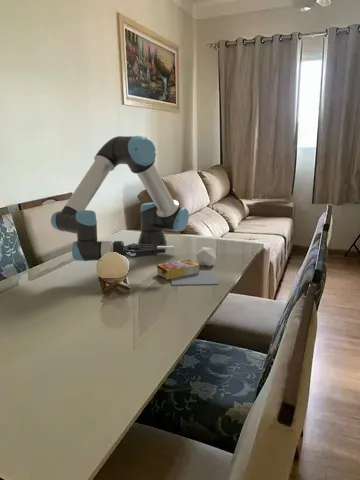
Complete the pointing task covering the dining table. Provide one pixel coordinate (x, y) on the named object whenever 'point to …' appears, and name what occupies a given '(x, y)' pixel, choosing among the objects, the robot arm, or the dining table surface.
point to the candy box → (178, 269)
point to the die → (206, 256)
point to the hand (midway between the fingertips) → (173, 249)
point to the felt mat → (196, 279)
